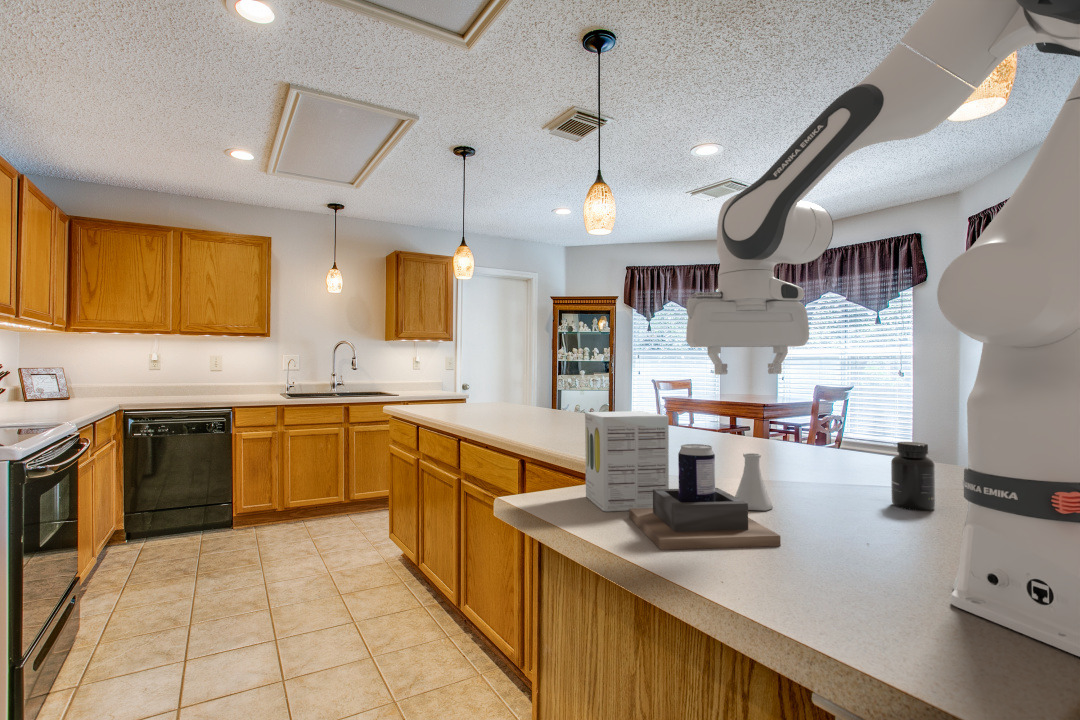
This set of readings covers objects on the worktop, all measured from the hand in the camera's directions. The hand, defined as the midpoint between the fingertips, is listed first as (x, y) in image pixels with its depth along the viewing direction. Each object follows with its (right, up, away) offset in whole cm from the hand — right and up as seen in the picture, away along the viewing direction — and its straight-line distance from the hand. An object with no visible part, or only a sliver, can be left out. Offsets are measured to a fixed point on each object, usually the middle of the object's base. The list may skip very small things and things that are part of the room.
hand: (748, 374), depth 92 cm
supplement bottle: (+35, -26, +12) cm, 45 cm away
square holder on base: (-9, -25, -3) cm, 27 cm away
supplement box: (-18, -26, +16) cm, 35 cm away
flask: (+5, -26, +12) cm, 29 cm away
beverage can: (-9, -24, -3) cm, 26 cm away
